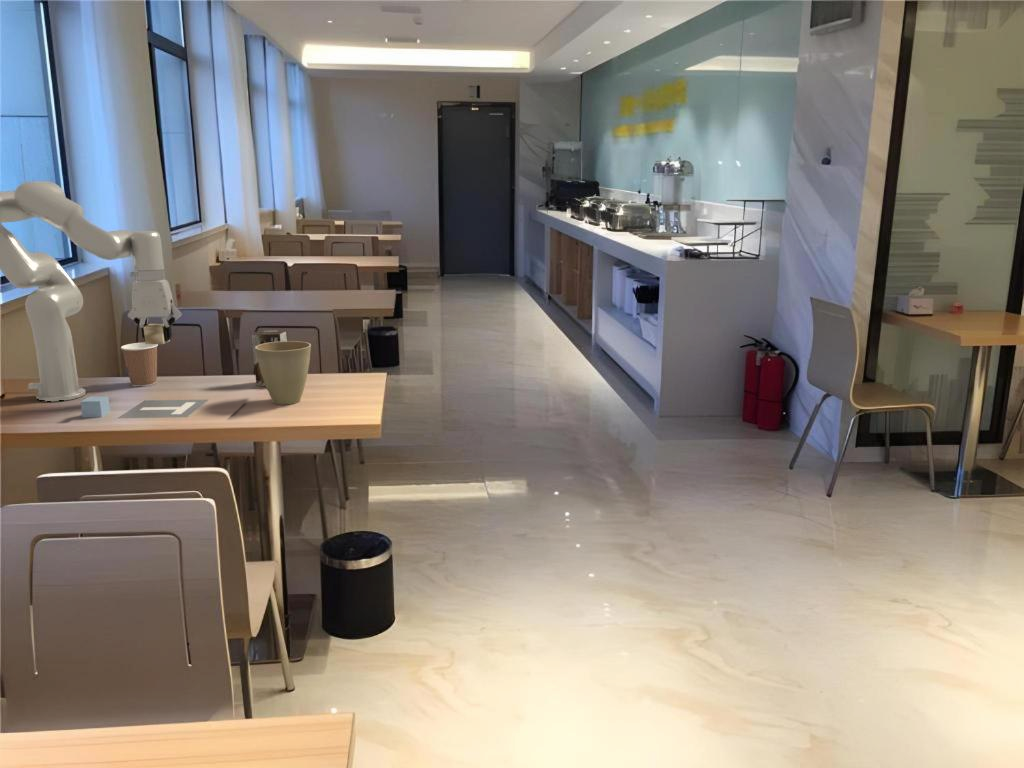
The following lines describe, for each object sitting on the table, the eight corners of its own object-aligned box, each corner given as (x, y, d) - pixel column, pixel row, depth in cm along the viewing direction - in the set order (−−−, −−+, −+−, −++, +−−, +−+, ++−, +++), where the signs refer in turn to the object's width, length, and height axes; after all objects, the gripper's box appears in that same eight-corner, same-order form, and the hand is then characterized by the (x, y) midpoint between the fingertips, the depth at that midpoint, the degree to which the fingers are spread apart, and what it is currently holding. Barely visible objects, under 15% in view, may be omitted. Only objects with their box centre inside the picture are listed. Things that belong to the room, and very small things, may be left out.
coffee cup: (139, 379, 261) (135, 341, 258) (169, 380, 259) (164, 342, 256) (118, 387, 251) (113, 348, 248) (148, 388, 249) (144, 349, 246)
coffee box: (292, 381, 256) (288, 329, 253) (284, 386, 250) (280, 333, 246) (263, 381, 257) (259, 329, 253) (255, 386, 251) (250, 333, 247)
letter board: (117, 420, 216) (116, 418, 216) (144, 402, 234) (144, 400, 233) (187, 419, 217) (186, 417, 216) (209, 401, 234) (209, 399, 234)
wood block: (145, 344, 233) (143, 326, 232) (152, 341, 238) (150, 323, 237) (163, 344, 233) (161, 326, 232) (170, 340, 238) (168, 323, 237)
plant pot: (305, 408, 226) (301, 351, 222) (251, 408, 227) (246, 350, 223) (321, 394, 240) (317, 340, 237) (270, 394, 241) (266, 340, 237)
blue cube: (82, 420, 217) (80, 401, 216) (91, 414, 222) (89, 396, 221) (102, 419, 217) (99, 401, 216) (110, 414, 222) (108, 396, 221)
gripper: (113, 278, 227) (121, 343, 232) (176, 277, 228) (183, 342, 232) (125, 275, 235) (132, 338, 239) (185, 274, 235) (192, 337, 239)
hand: (157, 339), depth 235 cm, fingers closed on wood block, 4 cm apart
